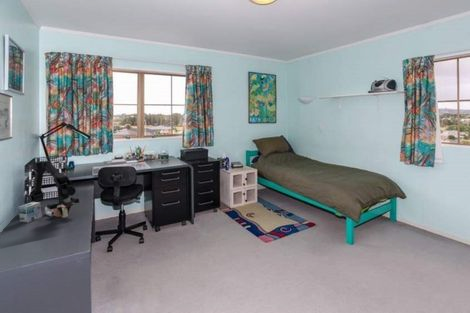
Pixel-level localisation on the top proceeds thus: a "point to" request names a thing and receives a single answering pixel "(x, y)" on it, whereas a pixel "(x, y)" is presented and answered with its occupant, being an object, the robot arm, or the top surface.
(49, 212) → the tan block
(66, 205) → the robot arm
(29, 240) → the top surface
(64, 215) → the tethered block
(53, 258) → the top surface
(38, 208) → the light bulb box
